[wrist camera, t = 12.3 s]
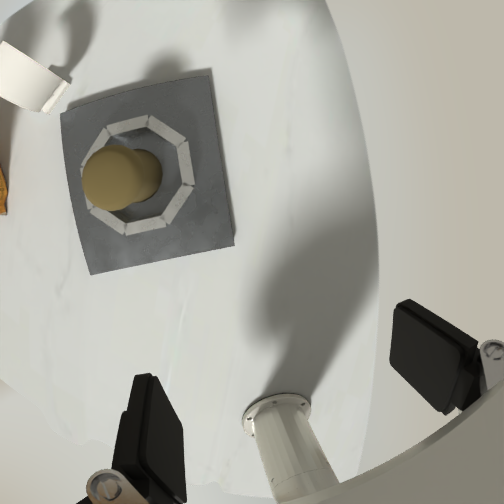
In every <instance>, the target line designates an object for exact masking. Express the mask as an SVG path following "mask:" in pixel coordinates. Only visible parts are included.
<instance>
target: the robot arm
mask: <svg viewBox="0 0 504 504" xmlns="http://www.w3.org/2000/svg"><path fill="white" fill-rule="evenodd" d="M477 345H478V341H477V340H475V339H474V338H472V337H470V336H469V335H468V334H466V333H464V332H463V331H461V330H460V329H458V328H457V327H455V326H453V325H452V324H450V323H449V322H447V321H445V320H444V319H442V318H441V317H439V316H437V315H436V314H434V313H433V312H431V311H429V310H428V309H426V308H424V307H423V306H421V305H420V304H418V303H416V302H415V301H413V300H411V299H407V300H405V301H402V302H400V303H398V304H397V305H396V308H395V309H394V314H393V329H392V340H391V350H390V358H389V360H390V364H391V366H392V367H393V368H394V369H395V370H396V371H397V372H398V373H399V374H400V375H401V376H402V377H403V378H404V379H405V380H406V381H407V382H408V383H409V384H410V385H411V386H412V387H413V388H414V389H415V390H416V391H417V392H418V393H419V394H421V396H422V397H423V398H424V399H425V400H426V401H427V402H428V403H430V405H431V406H432V407H433V408H434V409H435V410H437V411H438V412H442V413H443V414H444V415H447V414H449V413H450V412H451V411H453V410H454V409H455V407H457V408H458V409H459V415H458V416H457V417H455V418H454V419H453V420H451V421H450V422H449V423H448V424H446V425H445V426H443V427H442V428H440V429H439V430H437V431H436V432H435V433H433V434H432V435H430V436H429V437H427V438H426V439H424V440H423V441H421V442H419V443H418V444H416V445H415V446H413V447H411V448H410V449H408V450H406V451H405V452H403V453H401V454H399V455H398V456H396V457H394V458H392V459H390V460H389V461H387V462H385V463H383V464H381V465H379V466H377V467H375V468H373V469H371V470H369V471H367V472H365V473H363V474H360V475H358V476H356V477H354V478H352V479H349V480H347V481H345V482H342V483H339V481H338V479H337V477H336V475H335V474H334V472H333V470H332V468H331V466H330V464H329V462H328V460H327V458H326V456H325V454H324V452H323V450H322V448H321V446H320V444H319V442H318V440H317V438H316V436H315V434H314V432H313V430H312V428H311V426H310V424H309V422H308V419H309V417H310V414H311V407H310V405H309V403H308V401H307V400H306V399H305V398H304V397H302V396H299V395H296V394H279V395H274V396H271V397H268V398H265V399H263V400H261V401H259V402H257V403H256V404H254V405H253V406H252V407H250V408H249V409H248V410H247V412H246V413H245V414H244V416H243V419H242V425H243V429H244V431H245V432H246V434H248V435H249V436H250V437H253V438H255V439H256V443H257V446H258V449H259V453H260V456H261V459H262V462H263V466H264V469H265V472H266V475H267V478H268V481H269V485H270V488H271V491H272V494H273V497H274V499H275V501H276V503H277V504H504V343H503V342H502V341H499V340H488V341H485V342H484V343H483V344H482V345H481V347H480V349H478V348H477ZM86 492H87V494H88V496H87V497H85V498H84V499H82V500H81V501H79V502H78V503H76V504H183V503H186V502H187V494H186V481H185V464H184V441H183V427H182V424H181V422H180V420H179V418H178V416H177V415H176V413H175V411H174V409H173V407H172V405H171V403H170V401H169V399H168V397H167V395H166V393H165V391H164V389H163V387H162V385H161V383H160V381H159V379H158V377H157V376H152V374H151V373H146V374H139V375H135V377H134V380H133V385H132V389H131V393H130V398H129V403H128V407H127V411H124V412H123V413H122V415H121V419H120V424H119V429H118V434H117V439H116V444H115V449H114V455H113V461H112V468H111V469H104V470H100V471H98V472H96V473H94V474H93V475H92V476H91V477H90V478H89V480H88V482H87V485H86Z"/></svg>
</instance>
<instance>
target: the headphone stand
mask: <svg viewBox="0 0 504 504" xmlns="http://www.w3.org/2000/svg"><path fill="white" fill-rule="evenodd" d="M69 86H70V84H69V83H68V82H66V81H65V80H63V79H62V78H60V77H59V76H57V75H56V74H54V73H53V72H51V71H50V70H48V69H46V68H45V67H43V66H42V65H40V64H39V63H37V62H36V61H34V60H33V59H31V58H30V57H28V56H27V55H25V54H23V53H22V52H20V51H19V50H17V49H16V48H14V47H13V46H11V45H9V44H8V43H6V42H5V41H2V43H1V44H0V97H2V98H4V99H6V100H8V101H10V102H12V103H14V104H16V105H18V106H20V107H22V108H25V109H27V110H30V111H33V112H40V111H41V110H42V111H44V112H45V113H46V114H48V115H50V113H51V112H52V110H53V109H54V107H55V106H56V104H57V103H58V101H59V100H60V99H61V97H62V96H63V94H64V93H65V92H66V90H67V89H68V88H69Z"/></svg>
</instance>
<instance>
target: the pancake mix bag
mask: <svg viewBox="0 0 504 504" xmlns="http://www.w3.org/2000/svg"><path fill="white" fill-rule="evenodd" d="M7 195H8V191H7V186H6V181H5V178H4V175H3V172H2V168H1V165H0V215H7V213H6V208H5V201H6V198H7Z"/></svg>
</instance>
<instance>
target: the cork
mask: <svg viewBox="0 0 504 504" xmlns="http://www.w3.org/2000/svg"><path fill="white" fill-rule="evenodd" d="M162 176H163V173H162V166H161V164H160V162H159V160H158V158H157V157H156V156H155V155H154V154H153V153H151V152H149V151H147V150H145V149H133V150H131V149H129V148H127V147H125V146H123V145H114V144H112V145H108V146H104V147H102V148H101V149H99V150H97V151H96V152H94V153H93V154H92V155H91V156H90V158H89V159H88V160H87V162H86V164H85V166H84V168H83V172H82V187H83V191H84V193H85V195H86V197H87V199H88V200H89V201H90V202H91V203H92V204H93V205H94V206H96V207H98V208H100V209H102V210H108V211H115V210H120V209H123V208H125V207H126V206H128V205H130V204H131V203H139V202H144V201H146V200H148V199H149V198H151V197H152V196H153V195H154V194H155V193H156V192H157V191H158V189H159V187H160V185H161V182H162Z"/></svg>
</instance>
